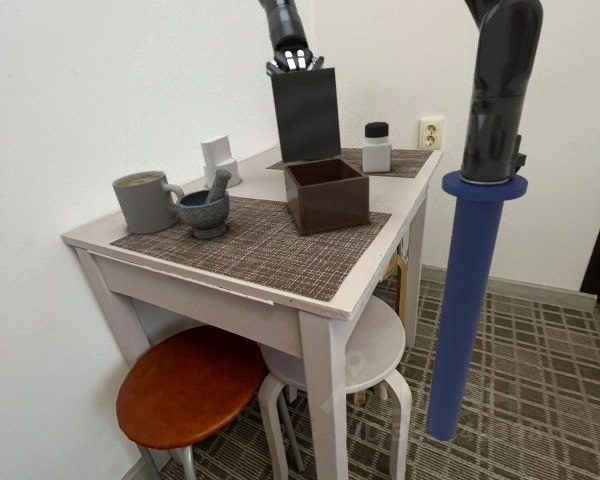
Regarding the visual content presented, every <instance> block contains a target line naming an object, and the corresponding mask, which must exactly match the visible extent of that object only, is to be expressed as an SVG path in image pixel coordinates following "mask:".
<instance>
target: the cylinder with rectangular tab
mask: <svg viewBox="0 0 600 480" xmlns="http://www.w3.org/2000/svg"><path fill="white" fill-rule="evenodd" d="M200 147H201V148H200V149H201V152H202V156H203V160H204V162H202V168H203V173H204V176H205V181H206V185H207V188H208V189H211V187H212V185H213V182H214V180H215V177H216V170H217V169H225V170H227V171H229V172H230V173H231V179H230V180H228V184H227V188H229V187H230V188H231V187H234V186H236V185H238V184H240V182H241V178H240V171H239V167H238V163H237V158H235V157H233V154H232V149H231V145H230V139H229V135H228V134H227V135H225V134H222V135H216V136H214V137H212V138H209V139H206V140H204V141H201V142H200Z"/></svg>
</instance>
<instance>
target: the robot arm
mask: <svg viewBox="0 0 600 480" xmlns="http://www.w3.org/2000/svg"><path fill="white" fill-rule="evenodd" d="M257 1H258V3H259V5H260V6H261V8H262V10H263V12H265V13H264V14H265V17H266V21H267V29H268V37H269V40H270V43H271V48H272V53H273V60H272V61H266V62H265V73H266V75H267V76H268V77H270V74H277V73H287V72H296V71H305V70H309V68H310V66H311V64H312V66H311V69H310V70H314V69H323V68H324V65H325V57H324V55H323V56H322V55H320V56H318V57H316V56H314V53H313V51H312V50H311V49H310V47H309V42H308V39H307V35H306V32H305V29H304V25H303V22H302V19H301V16H300V14H299V11H298V8H297V5H296V4H297V3H296V1H295V0H257ZM463 2H464V3H465V5H466V6H467V8H468V11H469V13H470V15H471V17H472V19H473V21H474V24H475V26H476V28H477V31H478V40H477V47H476V48H477V49H476V55H475V63H474V64H475V66H474V69H473V70H474V71H473V77H472V78H473V79H472V88H471V94H470V95H471V96H470V102H469V103H470V105H469V110H468V117H467V125H466V131H465V139H464V147H463V155H462V161H461V164H460V170H461V174H460V181H462V182H464V183H466V184H469V185H474V186H484V187H490V186H500V185H504V184H506V183H507V182H512V180H513V176H515V174H518V172H519V171H520V170H521V169H522V167H525V165H526V161H527V157H528V155H527V154H524V153H521V152H519V151H520V147H521V142H522V134H519V129H520V125H521V120H522V119H521V118H522V115H523V108H524V105H525V99H526V95H527V91H528V87H529V83H530V80H531V77H532V74H533V70H534V64H535V60H536V56H537V52H538V46H539V43H540V38H541V33H542V28H543V23H544V6H543V3H542V1H541V0H463Z"/></svg>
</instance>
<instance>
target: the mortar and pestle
mask: <svg viewBox="0 0 600 480" xmlns="http://www.w3.org/2000/svg"><path fill="white" fill-rule="evenodd" d="M230 179H231V173H230V172H229V171H227V170H225V169H217V170H216V177H215V180H214V182H213V185H212V187H211V188H208V189H207V188H205V189H201V190H196V191H192V192H188V193H187V194H185V195H184V196H182V197H180V198H177V199H176V201H175V206H176V209H177V212H178V214H177V215H178V217H179V218H180V219H181V221H182V222H183V223H184V224H186V225H187V226H189V227H191V228H193V234H194V236H195V237H197V238H199V239H211V238H215V237H218V236H221V235H222V234H223V233H225V232H226V231H227V225H226V221H227V219H228V217H229V215H230V212H231V211H230V208H231V207H230V204H231V203H230V202H231V201H230V195H229V191H228V190H227V188H228V187H227V184H228V180H230Z"/></svg>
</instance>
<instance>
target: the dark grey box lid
mask: <svg viewBox="0 0 600 480" xmlns="http://www.w3.org/2000/svg"><path fill="white" fill-rule="evenodd" d="M269 78H270V83H271V85H270V86H271V91H272V99H273V105H274V111H275V112H274V114H275V120H276V121H275V122H276V127H277V128H276V129H277V135H278V142H279V143H278V144H279V149H280V156H281V163H282V164H290V163H296V162H301V161H311V160H315V159H316V158H323V157H330V156H334V157H337V156H342V144H341V141H342V140H341V131H340V119H339V118H340V117H339V116H340V115H339V105H338V92H337V81H336V79H337V78H336V68H335V67H333V66H332V67H323V69H314V70H311V69H308V70H305V71H296V72H287V73H277V74H270V76H269Z"/></svg>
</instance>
